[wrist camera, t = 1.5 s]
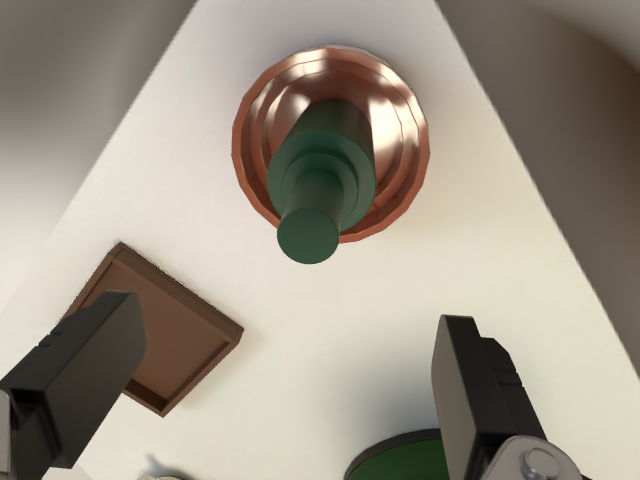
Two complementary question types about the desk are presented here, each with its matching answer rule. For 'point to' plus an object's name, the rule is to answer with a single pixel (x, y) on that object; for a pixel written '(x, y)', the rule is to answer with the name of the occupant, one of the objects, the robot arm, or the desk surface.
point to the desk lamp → (403, 459)
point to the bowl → (347, 84)
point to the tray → (164, 329)
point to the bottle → (322, 179)
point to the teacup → (148, 479)
